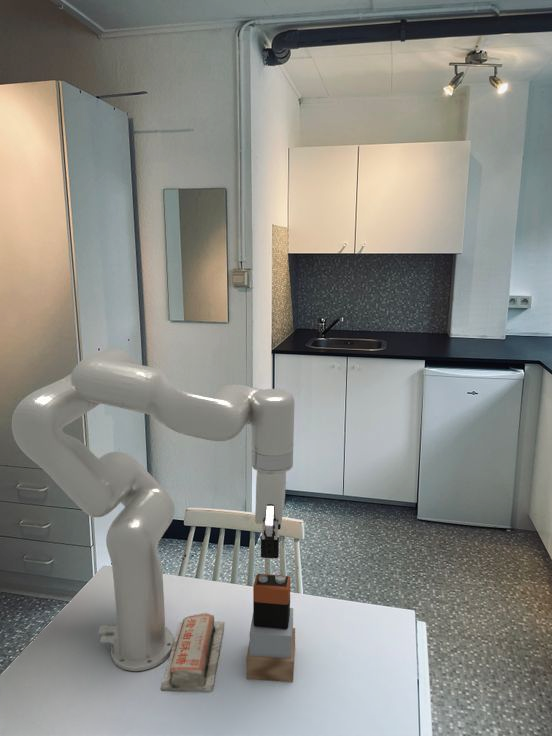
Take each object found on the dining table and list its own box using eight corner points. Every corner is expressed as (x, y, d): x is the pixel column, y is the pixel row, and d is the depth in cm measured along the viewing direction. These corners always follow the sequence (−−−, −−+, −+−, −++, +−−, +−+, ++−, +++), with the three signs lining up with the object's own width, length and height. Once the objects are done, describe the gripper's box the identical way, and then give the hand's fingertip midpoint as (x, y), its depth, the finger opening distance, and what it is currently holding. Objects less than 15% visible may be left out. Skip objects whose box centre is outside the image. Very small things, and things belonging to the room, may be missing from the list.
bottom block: (246, 680, 104) (246, 658, 102) (252, 645, 112) (252, 625, 111) (292, 683, 103) (293, 661, 102) (294, 648, 112) (295, 628, 111)
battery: (287, 630, 103) (288, 585, 100) (253, 627, 104) (252, 582, 101) (290, 615, 107) (290, 571, 105) (256, 612, 108) (256, 568, 105)
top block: (249, 656, 103) (249, 633, 102) (254, 626, 111) (254, 605, 110) (291, 658, 103) (291, 636, 101) (292, 629, 110) (293, 608, 109)
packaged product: (212, 673, 99) (159, 671, 100) (213, 694, 101) (160, 693, 101) (224, 608, 117) (179, 607, 117) (225, 627, 118) (180, 626, 118)
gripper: (255, 439, 105) (255, 518, 109) (247, 477, 89) (246, 569, 93) (293, 440, 105) (291, 519, 109) (292, 479, 88) (290, 570, 92)
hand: (271, 542), depth 101 cm, fingers open, 9 cm apart
